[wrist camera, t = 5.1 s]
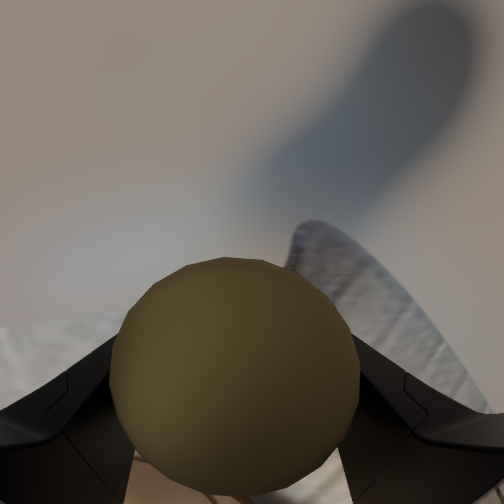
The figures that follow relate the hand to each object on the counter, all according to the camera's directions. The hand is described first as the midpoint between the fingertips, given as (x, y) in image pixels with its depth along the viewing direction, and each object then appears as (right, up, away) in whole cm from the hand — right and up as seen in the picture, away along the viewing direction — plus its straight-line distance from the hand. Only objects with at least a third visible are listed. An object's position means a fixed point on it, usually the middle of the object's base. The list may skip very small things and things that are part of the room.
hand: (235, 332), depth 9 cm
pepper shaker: (0, -4, +6) cm, 7 cm away
